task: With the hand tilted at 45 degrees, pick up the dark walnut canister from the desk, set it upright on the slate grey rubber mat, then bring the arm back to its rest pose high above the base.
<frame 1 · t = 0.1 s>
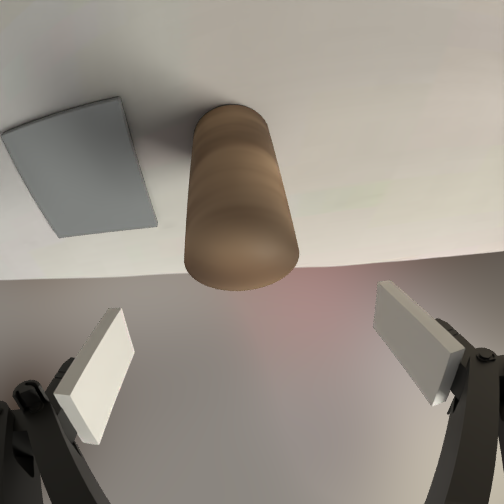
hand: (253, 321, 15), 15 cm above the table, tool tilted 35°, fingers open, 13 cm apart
slate mat: (80, 178, 24), on the table
walnut canister: (231, 137, 23), on the table
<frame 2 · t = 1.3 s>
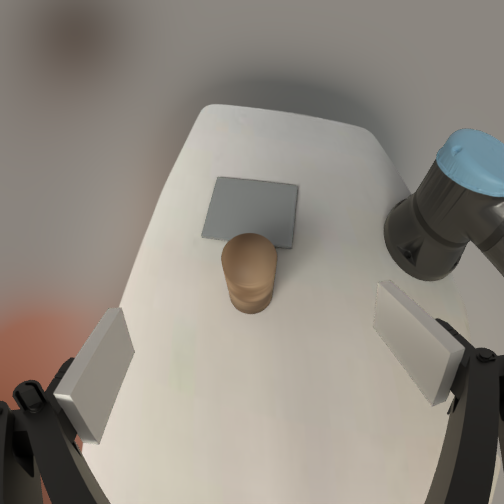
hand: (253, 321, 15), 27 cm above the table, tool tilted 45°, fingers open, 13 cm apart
slate mat: (251, 211, 50), on the table
walnut canister: (250, 293, 44), on the table
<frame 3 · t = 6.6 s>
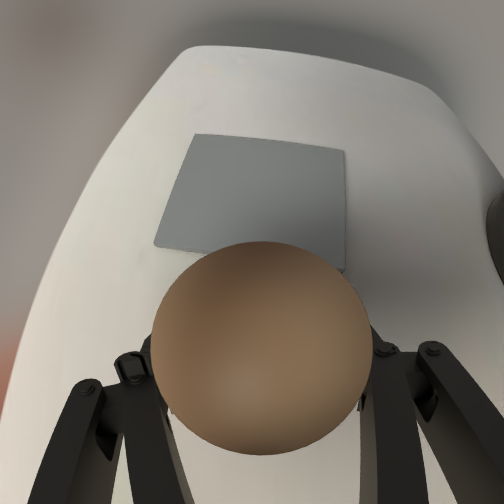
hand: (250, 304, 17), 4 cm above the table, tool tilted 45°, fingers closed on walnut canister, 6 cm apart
slate mat: (258, 193, 25), on the table
walnut canister: (257, 376, 18), on the table, touching gripper
when the fingers open (6 cm above the table, at t = 11.5 s): walnut canister drops 1 cm, resting on slate mat.
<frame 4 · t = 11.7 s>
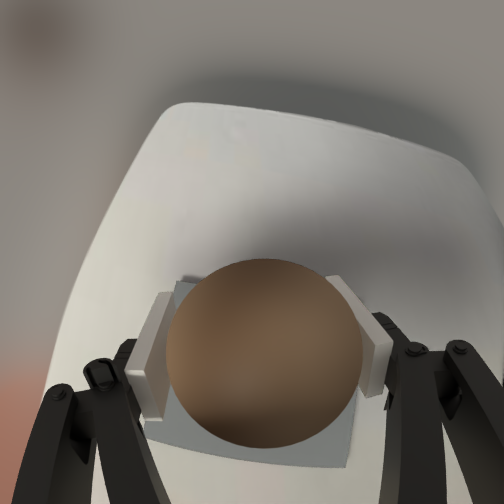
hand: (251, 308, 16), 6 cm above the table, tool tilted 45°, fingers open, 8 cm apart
slate mat: (256, 377, 20), on the table
walnut canister: (257, 378, 19), point 1 cm above the table, touching slate mat
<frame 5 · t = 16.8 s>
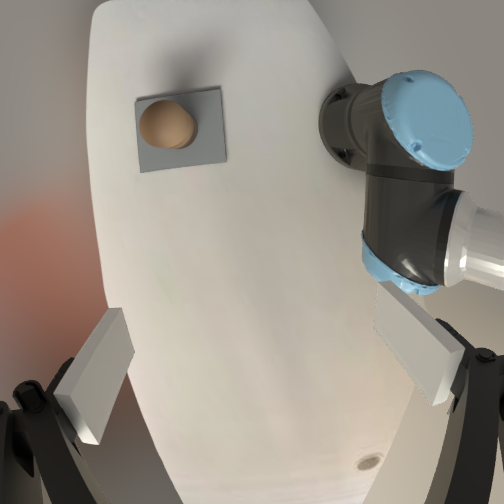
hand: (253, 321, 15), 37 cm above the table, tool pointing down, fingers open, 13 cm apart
slate mat: (179, 130, 45), on the table
walnut canister: (178, 130, 45), point 1 cm above the table, touching slate mat
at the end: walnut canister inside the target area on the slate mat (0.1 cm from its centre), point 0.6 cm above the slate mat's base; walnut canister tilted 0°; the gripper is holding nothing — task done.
